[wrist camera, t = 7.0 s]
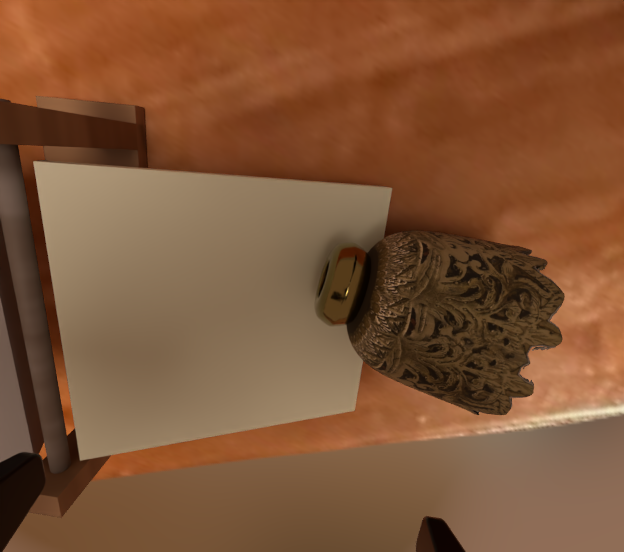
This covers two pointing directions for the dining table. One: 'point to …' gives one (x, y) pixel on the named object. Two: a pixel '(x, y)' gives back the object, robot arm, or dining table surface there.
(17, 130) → the post frame
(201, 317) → the trapdoor
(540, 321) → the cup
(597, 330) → the dining table surface
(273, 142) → the dining table surface
